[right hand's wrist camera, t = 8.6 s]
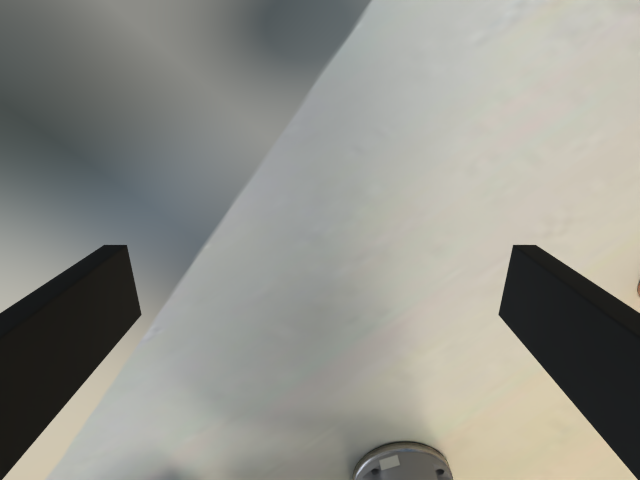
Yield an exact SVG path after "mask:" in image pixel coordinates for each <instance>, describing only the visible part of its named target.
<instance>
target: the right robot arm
mask: <svg viewBox="0 0 640 480" xmlns="http://www.w3.org/2000/svg"><path fill="white" fill-rule="evenodd" d="M140 316H141V310H140V306H139V301H138V296H137V291H136V287H135V282H134V277H133V272H132V268H131V263H130V258H129V253H128V249H127V245H104V246H102V247H101V248H99V249H97V250H96V251H95V252H93V253H91V254H90V255H88V256H87V257H85V258H84V259H82V260H81V261H79V262H78V263H76V264H75V265H73V266H72V267H70V268H69V269H67V270H65V271H64V272H62V273H61V274H59V275H58V276H56V277H55V278H53V279H52V280H50V281H49V282H47V283H46V284H44V285H43V286H41V287H40V288H38V289H37V290H35V291H34V292H32V293H30V294H29V295H27V296H26V297H24V298H23V299H21V300H20V301H18V302H17V303H15V304H14V305H12V306H11V307H9V308H8V309H6V310H5V311H3V312H2V313H0V480H2V479H3V478H4V477H5V476H6V474H7V473H8V472H9V471H10V470H11V468H12V467H13V466H14V465H15V464H16V463H17V461H18V460H19V459H20V458H21V457H22V455H23V454H24V453H25V452H26V451H27V449H28V448H29V447H30V446H31V445H32V444H33V442H34V441H35V440H36V439H37V438H38V436H39V435H40V434H41V433H42V432H43V431H44V429H45V428H46V427H47V426H48V425H49V423H50V422H51V421H52V420H53V419H54V418H55V416H56V415H57V414H58V413H59V412H60V410H61V409H62V408H63V407H64V406H65V405H66V403H67V402H68V401H69V400H70V399H71V397H72V396H73V395H74V394H75V393H76V391H77V390H78V389H79V388H80V387H81V386H82V384H83V383H84V382H85V381H86V380H87V379H88V377H89V376H90V375H91V374H92V373H93V371H94V370H95V369H96V368H97V367H98V365H99V364H100V363H101V362H102V361H103V360H104V358H105V357H106V356H107V355H108V354H109V352H110V351H111V350H112V349H113V348H114V346H115V345H116V344H117V343H118V342H119V341H120V339H121V338H122V337H123V336H124V335H125V333H126V332H127V331H128V330H129V329H130V328H131V326H132V325H133V324H134V323H135V322H136V320H137V319H138V318H139V317H140ZM499 316H500V317H501V318H502V319H503V321H504V322H505V323H506V324H507V325H508V326H509V328H510V329H511V330H512V331H513V332H514V334H515V335H516V336H517V337H518V338H519V339H520V341H521V342H522V343H523V344H524V345H525V347H526V348H527V349H528V350H529V351H530V352H531V354H532V355H533V356H534V357H535V358H536V360H537V361H538V362H539V363H540V364H541V365H542V367H543V368H544V369H545V370H546V371H547V373H548V374H549V375H550V376H551V377H552V379H553V380H554V381H555V382H556V383H557V384H558V386H559V387H560V388H561V389H562V390H563V392H564V393H565V394H566V395H567V396H568V397H569V399H570V400H571V401H572V402H573V403H574V405H575V406H576V407H577V408H578V409H579V410H580V412H581V413H582V414H583V415H584V416H585V418H586V419H587V420H588V421H589V422H590V423H591V425H592V426H593V427H594V428H595V429H596V431H597V432H598V433H599V434H600V435H601V437H602V438H603V439H604V440H605V441H606V442H607V444H608V445H609V446H610V447H611V448H612V450H613V451H614V452H615V453H616V454H617V455H618V457H619V458H620V459H621V460H622V461H623V463H624V464H625V465H626V466H627V467H628V468H629V470H630V471H631V472H632V473H633V474H634V476H635V477H636V478H637V479H638V480H640V313H638V312H637V311H635V310H634V309H632V308H631V307H629V306H628V305H626V304H625V303H623V302H622V301H620V300H619V299H617V298H616V297H614V296H613V295H611V294H610V293H608V292H606V291H605V290H603V289H602V288H600V287H599V286H597V285H596V284H594V283H593V282H591V281H590V280H588V279H587V278H585V277H584V276H582V275H581V274H579V273H578V272H576V271H575V270H573V269H571V268H570V267H568V266H567V265H565V264H564V263H562V262H561V261H559V260H558V259H556V258H555V257H553V256H552V255H550V254H549V253H547V252H546V251H544V250H543V249H541V248H540V247H538V246H536V245H513V248H512V253H511V258H510V263H509V267H508V272H507V277H506V282H505V286H504V291H503V296H502V301H501V305H500V310H499ZM353 480H453V477H452V473H451V471H450V468H449V465H448V463H447V461H446V459H445V458H444V457H443V456H442V455H441V454H440V453H439V452H438V451H436V450H434V449H433V448H431V447H428V446H426V445H422V444H418V443H411V442H400V443H393V444H388V445H384V446H381V447H379V448H377V449H375V450H373V451H371V452H369V453H368V454H367V455H365V456H364V457H363V458H362V459H361V460H360V461H359V463H358V464H357V466H356V467H355V470H354V473H353Z"/></svg>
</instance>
